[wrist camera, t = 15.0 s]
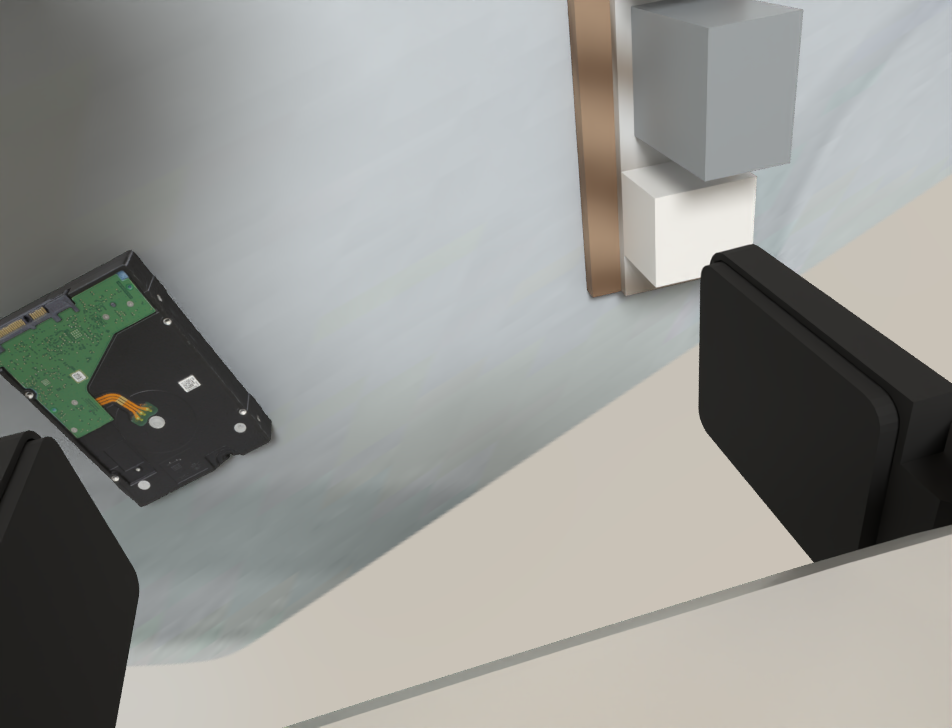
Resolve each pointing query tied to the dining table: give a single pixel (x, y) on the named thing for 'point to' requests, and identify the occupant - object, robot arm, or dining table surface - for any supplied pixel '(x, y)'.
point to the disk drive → (130, 380)
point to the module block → (716, 82)
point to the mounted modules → (683, 219)
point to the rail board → (606, 138)
